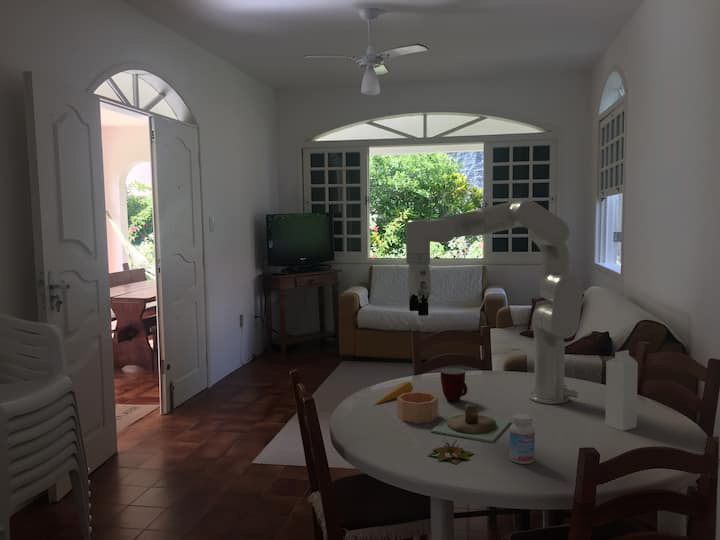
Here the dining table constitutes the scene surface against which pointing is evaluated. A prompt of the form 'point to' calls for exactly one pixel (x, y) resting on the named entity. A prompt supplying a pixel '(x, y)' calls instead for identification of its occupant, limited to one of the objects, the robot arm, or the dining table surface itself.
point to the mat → (486, 437)
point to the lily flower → (451, 452)
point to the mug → (453, 384)
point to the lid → (471, 421)
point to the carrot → (397, 392)
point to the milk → (621, 391)
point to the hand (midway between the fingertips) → (418, 313)
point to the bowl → (417, 407)
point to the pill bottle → (522, 439)
